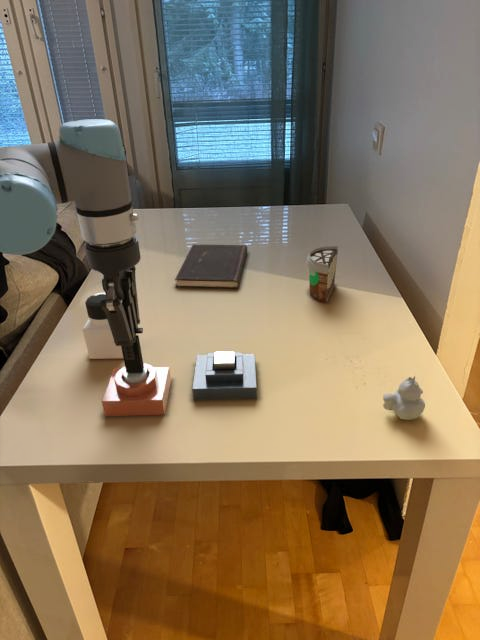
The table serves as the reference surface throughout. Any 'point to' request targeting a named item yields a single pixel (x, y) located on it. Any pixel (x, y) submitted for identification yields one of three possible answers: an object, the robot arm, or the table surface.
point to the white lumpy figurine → (406, 400)
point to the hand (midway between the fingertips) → (135, 370)
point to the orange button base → (137, 393)
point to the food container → (322, 271)
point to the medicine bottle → (99, 331)
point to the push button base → (225, 378)
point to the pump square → (224, 361)
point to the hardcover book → (212, 266)
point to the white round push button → (135, 376)
